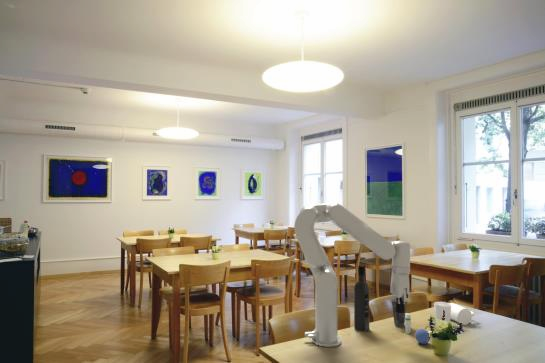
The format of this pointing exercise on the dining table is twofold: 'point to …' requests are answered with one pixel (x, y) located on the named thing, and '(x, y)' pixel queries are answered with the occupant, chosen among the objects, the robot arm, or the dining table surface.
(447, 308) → the white cup
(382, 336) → the dining table surface
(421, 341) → the ball
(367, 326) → the wine bottle
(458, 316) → the mug
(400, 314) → the beverage cup
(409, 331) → the pin
